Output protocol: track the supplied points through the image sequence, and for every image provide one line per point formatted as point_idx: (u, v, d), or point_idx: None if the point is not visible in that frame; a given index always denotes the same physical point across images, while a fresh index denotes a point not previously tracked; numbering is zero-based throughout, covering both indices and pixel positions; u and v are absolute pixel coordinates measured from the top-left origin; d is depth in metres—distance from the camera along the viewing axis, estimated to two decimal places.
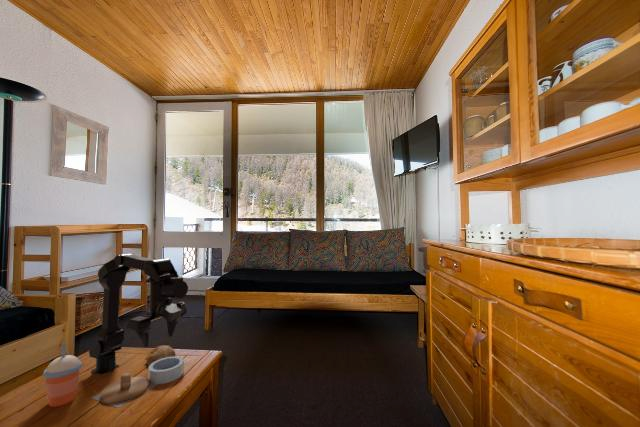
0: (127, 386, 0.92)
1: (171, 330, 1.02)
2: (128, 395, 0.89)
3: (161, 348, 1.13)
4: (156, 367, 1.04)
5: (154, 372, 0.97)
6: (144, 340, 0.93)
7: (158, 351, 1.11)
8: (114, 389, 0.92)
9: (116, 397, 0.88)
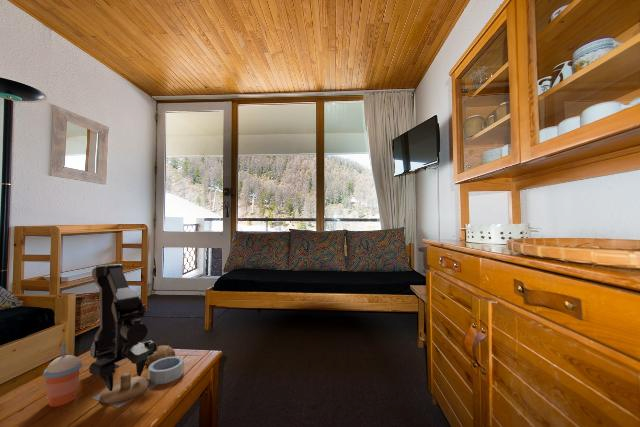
0: (127, 386, 0.92)
1: (140, 369, 0.97)
2: (128, 395, 0.89)
3: (161, 348, 1.13)
4: (156, 367, 1.04)
5: (154, 372, 0.97)
6: (108, 384, 0.88)
7: (158, 351, 1.11)
8: (114, 389, 0.92)
9: (116, 397, 0.88)
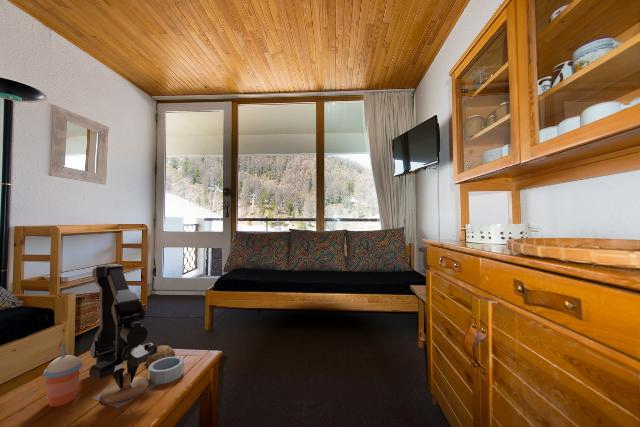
0: (127, 386, 0.92)
1: (131, 376, 0.95)
2: (128, 395, 0.89)
3: (161, 348, 1.13)
4: (156, 367, 1.04)
5: (154, 372, 0.97)
6: (118, 381, 0.91)
7: (158, 351, 1.11)
8: (114, 389, 0.92)
9: (116, 397, 0.88)
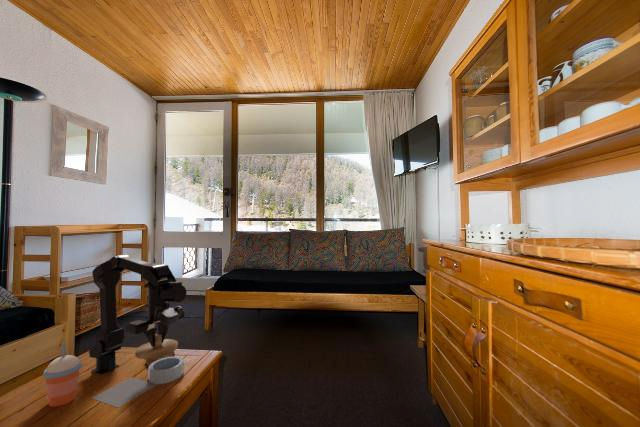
0: (159, 345, 1.00)
1: (162, 336, 1.02)
2: (161, 352, 0.96)
3: None
4: (156, 367, 1.04)
5: (154, 372, 0.97)
6: (151, 340, 0.98)
7: None
8: (147, 348, 0.99)
9: (150, 353, 0.95)
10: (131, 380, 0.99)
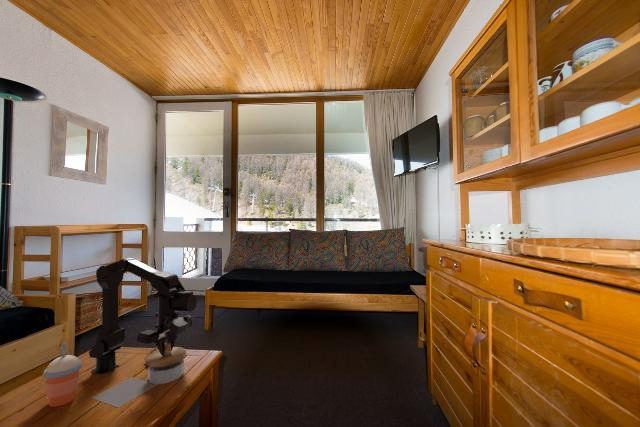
0: (168, 353, 1.02)
1: (171, 345, 1.04)
2: (171, 360, 0.99)
3: None
4: (156, 367, 1.04)
5: (154, 372, 0.97)
6: (161, 349, 1.01)
7: None
8: (156, 356, 1.02)
9: (161, 362, 0.97)
10: (131, 380, 0.99)
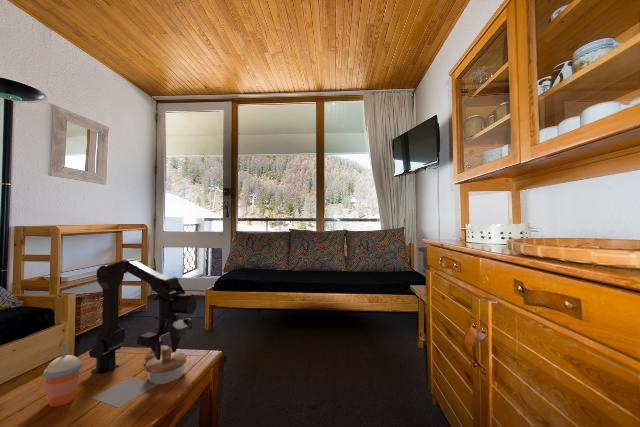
0: (168, 359, 1.02)
1: (175, 346, 1.06)
2: (171, 366, 0.99)
3: None
4: None
5: None
6: (156, 353, 0.99)
7: None
8: (157, 361, 1.02)
9: (161, 368, 0.97)
10: (131, 380, 0.99)
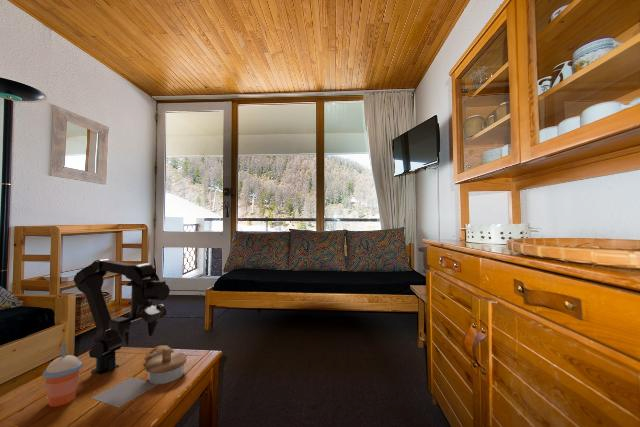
0: (168, 359, 1.02)
1: (151, 330, 1.09)
2: (171, 366, 0.99)
3: (160, 348, 1.13)
4: None
5: None
6: (124, 339, 1.00)
7: (157, 351, 1.11)
8: (157, 361, 1.02)
9: (161, 368, 0.97)
10: (131, 380, 0.99)
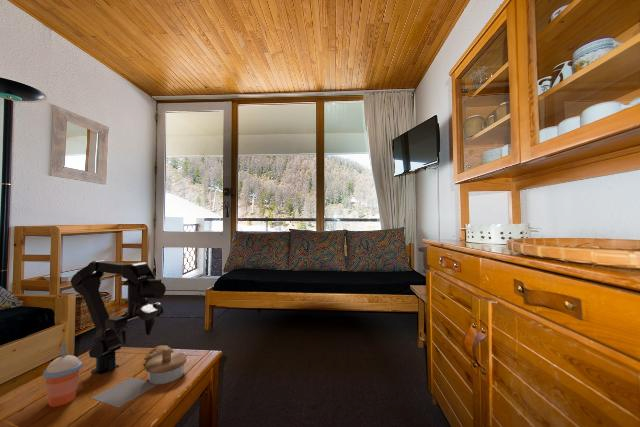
0: (168, 359, 1.02)
1: (148, 329, 1.09)
2: (171, 366, 0.99)
3: (160, 348, 1.13)
4: None
5: None
6: (121, 338, 1.00)
7: (157, 351, 1.11)
8: (157, 361, 1.02)
9: (161, 368, 0.97)
10: (131, 380, 0.99)
